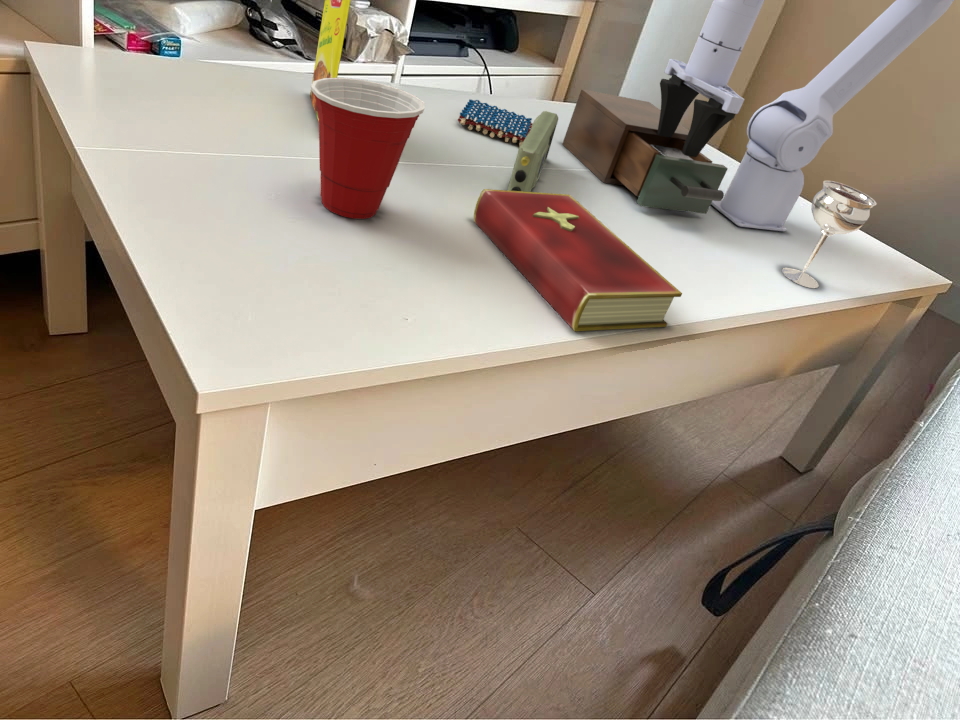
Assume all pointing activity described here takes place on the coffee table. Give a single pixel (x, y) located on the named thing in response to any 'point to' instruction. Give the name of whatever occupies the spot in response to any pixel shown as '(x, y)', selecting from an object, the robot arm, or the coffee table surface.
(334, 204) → the plastic cup
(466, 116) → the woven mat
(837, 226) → the wineglass
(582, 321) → the hardcover book
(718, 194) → the drawer
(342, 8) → the food package
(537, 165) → the handheld radio
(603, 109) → the cabinet
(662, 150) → the metal cube
